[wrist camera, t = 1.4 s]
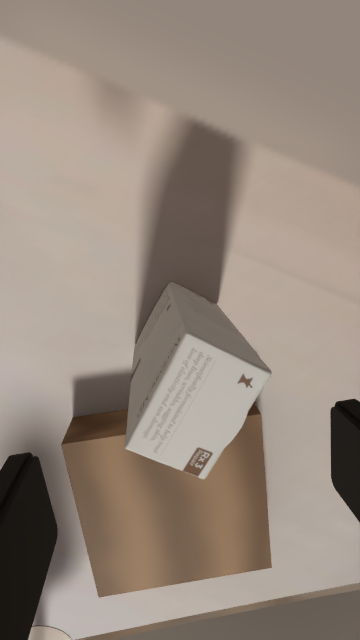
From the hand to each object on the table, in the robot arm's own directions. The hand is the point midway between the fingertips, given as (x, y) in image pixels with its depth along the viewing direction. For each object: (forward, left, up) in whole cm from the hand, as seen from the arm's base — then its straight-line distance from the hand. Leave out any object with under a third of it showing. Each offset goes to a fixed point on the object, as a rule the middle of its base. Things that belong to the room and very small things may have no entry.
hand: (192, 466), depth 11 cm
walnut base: (+1, +13, -16) cm, 21 cm away
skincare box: (-1, 0, -16) cm, 16 cm away
